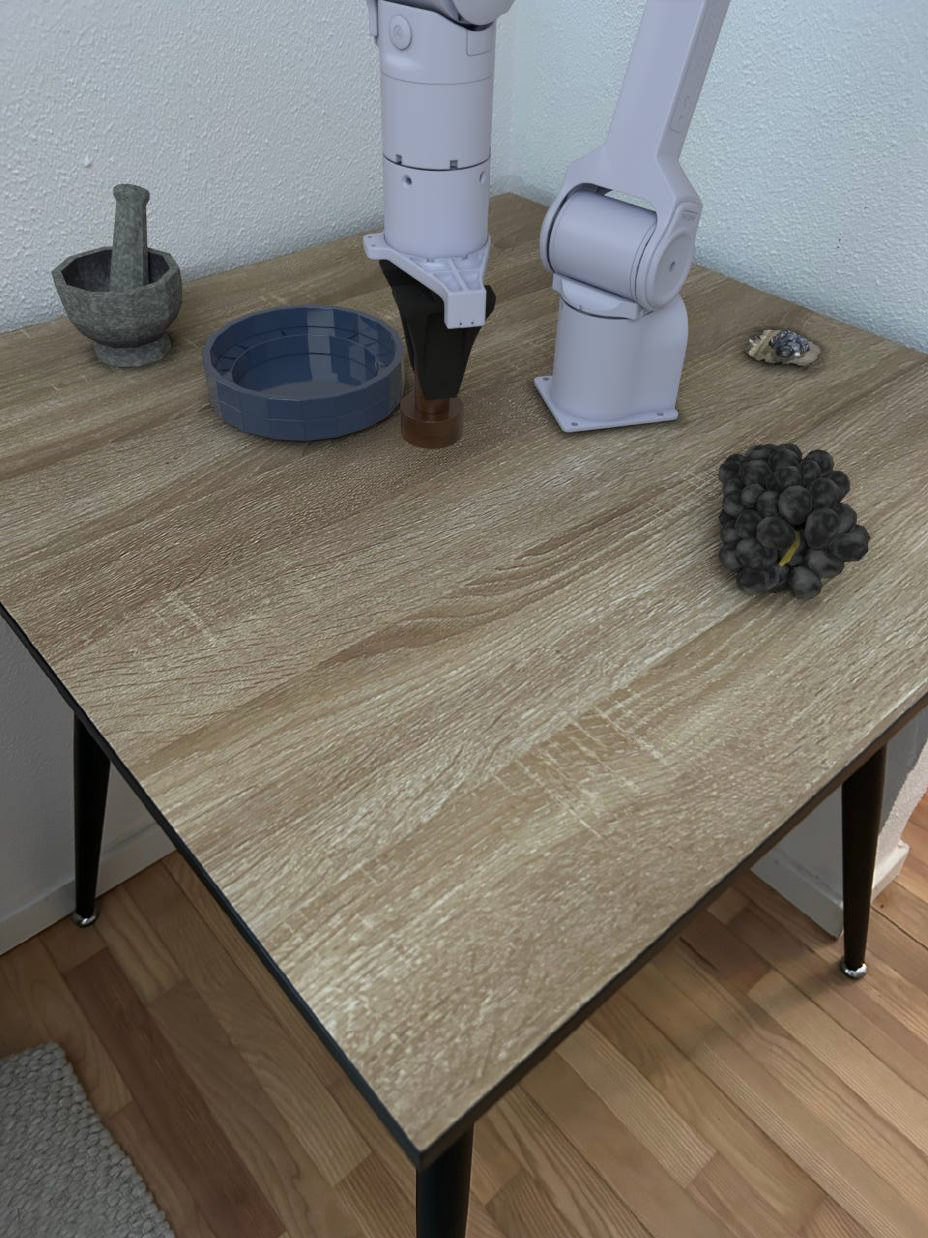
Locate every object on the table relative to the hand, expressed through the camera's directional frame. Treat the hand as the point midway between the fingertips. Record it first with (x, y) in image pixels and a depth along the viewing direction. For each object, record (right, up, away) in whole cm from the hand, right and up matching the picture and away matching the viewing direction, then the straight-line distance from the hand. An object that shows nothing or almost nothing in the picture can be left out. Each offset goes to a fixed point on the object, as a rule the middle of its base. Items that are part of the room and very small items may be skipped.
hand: (434, 384), depth 60 cm
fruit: (+22, -10, +4) cm, 25 cm away
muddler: (0, -3, +2) cm, 3 cm away
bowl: (-11, +3, +17) cm, 20 cm away
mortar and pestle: (-26, +8, +22) cm, 35 cm away
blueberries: (+29, +9, +25) cm, 39 cm away
